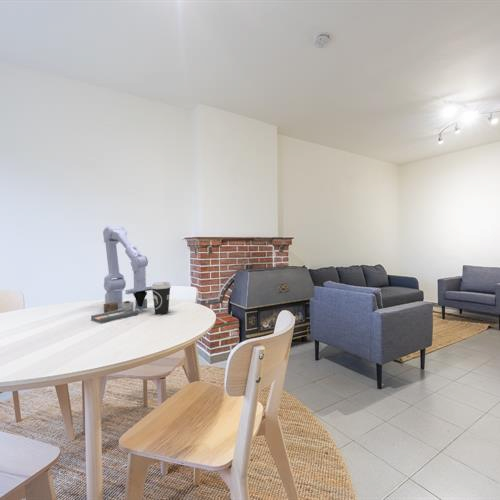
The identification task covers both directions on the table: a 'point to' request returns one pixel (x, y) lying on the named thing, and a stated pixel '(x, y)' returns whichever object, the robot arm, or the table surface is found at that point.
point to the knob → (126, 306)
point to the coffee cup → (161, 297)
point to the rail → (112, 316)
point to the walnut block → (110, 307)
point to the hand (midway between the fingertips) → (140, 306)
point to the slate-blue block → (143, 304)
